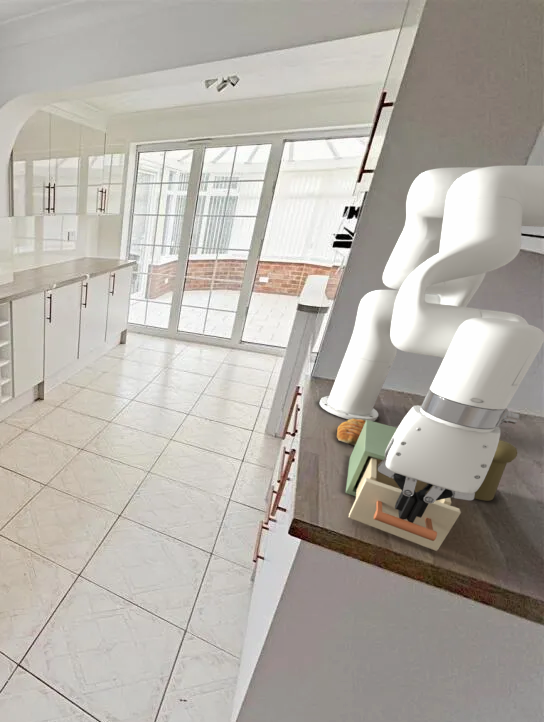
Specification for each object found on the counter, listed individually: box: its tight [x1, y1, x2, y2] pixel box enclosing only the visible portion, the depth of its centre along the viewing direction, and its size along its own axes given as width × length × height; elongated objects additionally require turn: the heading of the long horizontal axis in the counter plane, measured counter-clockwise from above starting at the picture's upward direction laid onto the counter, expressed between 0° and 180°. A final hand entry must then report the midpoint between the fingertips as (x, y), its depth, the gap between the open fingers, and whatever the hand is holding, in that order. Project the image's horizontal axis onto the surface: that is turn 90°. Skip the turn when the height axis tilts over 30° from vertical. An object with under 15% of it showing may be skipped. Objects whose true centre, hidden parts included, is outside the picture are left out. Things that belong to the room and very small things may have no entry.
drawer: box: [348, 456, 462, 552], centre depth 68 cm, size 18×11×8 cm, turn 142°
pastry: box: [336, 419, 366, 447], centre depth 94 cm, size 9×7×4 cm
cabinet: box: [345, 420, 398, 497], centre depth 77 cm, size 15×13×10 cm
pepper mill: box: [474, 439, 518, 502], centre depth 77 cm, size 6×6×11 cm
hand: (405, 515), depth 63 cm, fingers closed
